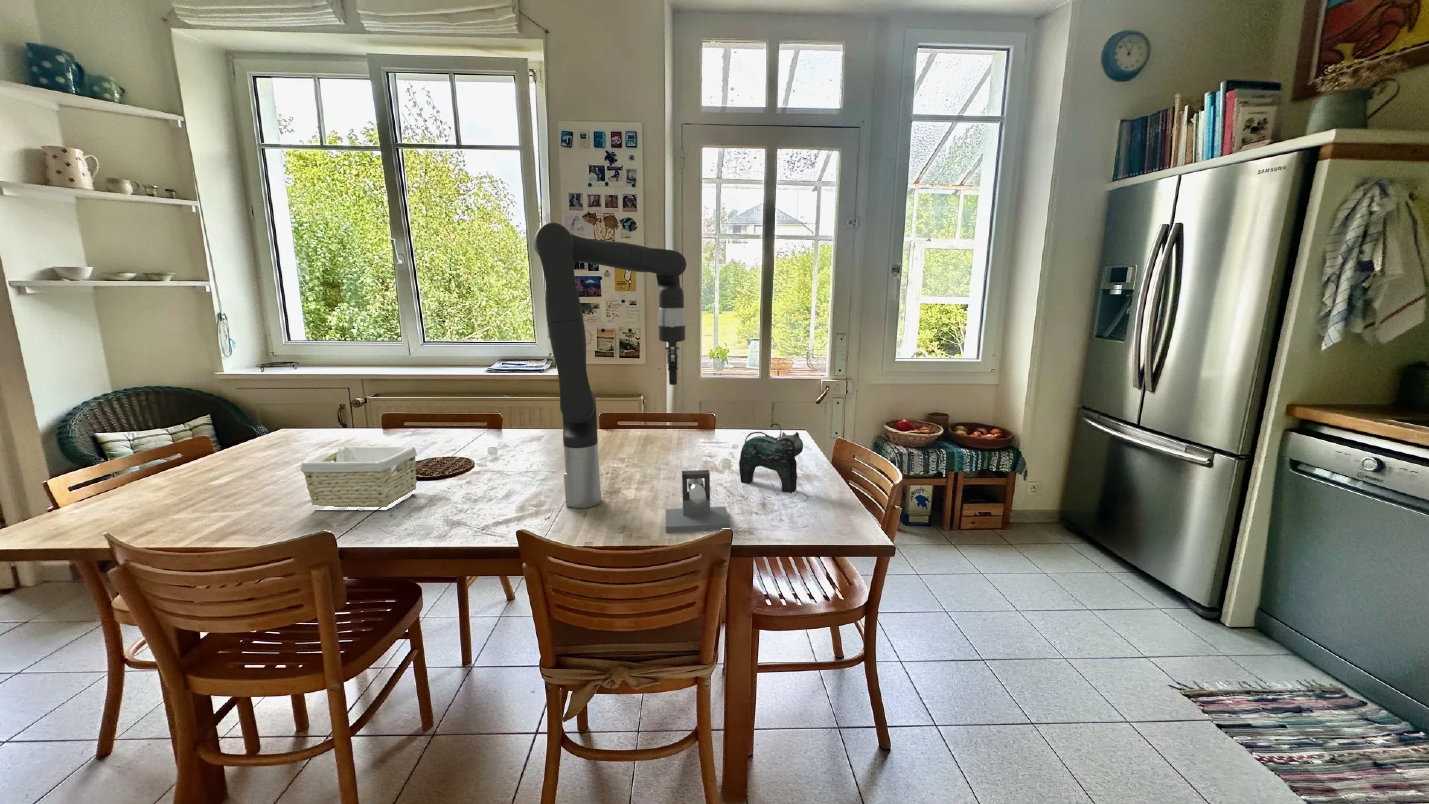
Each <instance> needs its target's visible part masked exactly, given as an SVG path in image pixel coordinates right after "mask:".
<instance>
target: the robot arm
mask: <svg viewBox="0 0 1429 804" xmlns="http://www.w3.org/2000/svg"><path fill="white" fill-rule="evenodd" d="M533 239H534V240H533V246H534V250H535V252H536V254H537V255H538V256H539V259H540V262H541V266H542V270H543V274H544V275H543V276H544V281H545V315H546V316H545V317H546V323H547V324H546V325H547V330H548V331H547V332H548V336H549V341H550V346H551V350H552V354H553V357H554V363H555V366H556V371H557V377H558V385H559V408H560V412H561V414H562V415H561V416H562V443H563V444H562V445H563V455H564V469H565V471H564V473H563V481H564V494H565V495H564V496H565V507H570V508H573V507H574V508H576V509H585V508H587V509H588V508H592V507H594V506H597V505H598V504H600V503H601V502H602V492H601V478H600V477H601V476H600V457H599V455H600V454H599V440H598V439H599V438H598V419H597V418H598V417H597V401H596V396H595V393H594V392H593V391H592V390H591V385H590V381H589V377H588V370H587V338H586V329H585V328H586V327H585V322H584V316H583V314H584V313H583V310H582V304H581V300H580V296H579V290H578V288H577V284H576V283H577V282H576V277H575V262H578V263H588V264H593V265H599V266H606V267H609V268H614V269H620V270H624V271H631V272H636V273H652V274H655V278H656V283H657V287H658V340H659V341H660V342H664V343H667V344H668V347H665V348H664V349H665V355H666V364H667V367H668V368H667V371H668V383H669V385H670V386H675V385H677V384H678V376H677V375H678V373H677V372H678V370H679V368H678V364H679V363H680V362H679V361H680V359H679V355H680V346H677V343H678V342H684V341H685V340H686V314H685V299H684V298H685V295H684V290H683V287H681V281H680V276H681V275H682V274H683V273H684V272H685V271H686V268H687V260H686V258H685V256H684V255H683V254H682V253H681V252H679V251H676V250H672V249H666V248H655V247H653V248H652V247H647V246H644V245H640V244H634V243H630V242H629V243H628V242H625V241H624V242H623V241H614V240H613V241H611V240H601V239H600V240H598V239H591V238H588V237H587V238H585V237H581V236H578V235H575V234H572V233H571V232H570V231H569V230H568V229H567V228H566V227H565V226H564V225H562V224H560V223H558V222H548V223H545V224H543V225H542V226H540V227H539V229H538V230H537V232H536V233H535V235H534V238H533Z"/></svg>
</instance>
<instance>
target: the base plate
mask: <svg viewBox="0 0 1429 804" xmlns="http://www.w3.org/2000/svg"><path fill="white" fill-rule="evenodd" d="M728 514H729V513H728V510H727V507H726V506H724V505H723V506H711V499H710V500H706V502H705V504H704V505H703V506H700V507H695V506H693V505H692V504H691V502H690V500H687V501H683V500H682V508H681V507H680V508H666V509H665V533H679V532H680V533H681V532H682V533H683V532H686V533H687V532H701V531H702V532H703V531H721V530H720V529H722V528H730V529H731V521H730V518H729V515H728Z"/></svg>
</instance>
